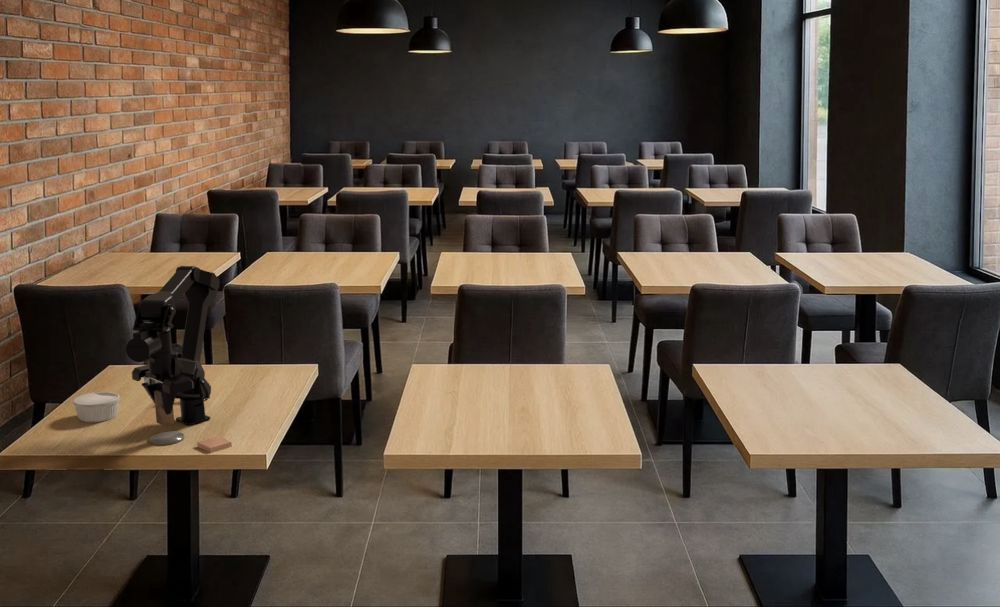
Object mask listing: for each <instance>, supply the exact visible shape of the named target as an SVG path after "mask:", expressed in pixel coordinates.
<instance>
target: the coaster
mask: <svg viewBox="0 0 1000 607" xmlns="http://www.w3.org/2000/svg"><path fill="white" fill-rule="evenodd" d="M184 439H185V433H183V432H181V431H164V432H163V431H162V432H159V433H156V434H154V435H151V436H150V437H149V442H150V444H152V445H154V444H156V446H169V445H174V443H175V444H178V443H180V442H182V441H184Z"/></svg>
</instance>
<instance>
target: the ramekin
mask: <svg viewBox="0 0 1000 607" xmlns="http://www.w3.org/2000/svg"><path fill="white" fill-rule="evenodd" d="M120 400H121V396H120V395H119V394H118V393H116V392H109V391H98V392H97V391H96V392H89V393H85V394H81V395H79V396H77V397H75V398H74V399H73V400H72V402H73V406H74V407H75V412H76V415H77V417H78V419H79V420H80V421H82V422H83V421H84V423H101V422H102V423H103V422H106V421H109V420H112V419H114V418H116V417H117V415H118V414H119V406H120V405H119V404H120Z"/></svg>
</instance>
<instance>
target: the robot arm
mask: <svg viewBox="0 0 1000 607" xmlns="http://www.w3.org/2000/svg"><path fill="white" fill-rule="evenodd" d="M220 284H221V283H220V278H219V277H218V276H217V275H216V274H215V272H213V271H212V272H210V271H207V270H204V269H200V267H197V266H194V265H180V266H177V267H176V268H175V273H174V274H173V275H172V276H171V277H170V278H169V279H168V281H167V282H165V284H164V285H163V286H162V287H161V289H160V290H158V292H154V293H152V294H149V295H148V296H146V297H145V298H143V299H142V300H141V301H140V302H139V305H138V307H137V310H136V314H135V320H134V322H133V326H132V330H133V331H134V332H133V333H132V338H131V339H130V340H129V341H128V342H127V343H126V347H125V352H126V354H127V356H128V357H129V359H130V360H131V361H134V362H136V363H142V362H145V361H147V364H146V365H141V366H136V367H134V368H133V370H132V371H131V378H132V380H133V381H136V382H140V381H141V380H142V378H143V380H144V381H143V382H142V383H141V386H142V387H143V388H144V390H145V391H146V393H147V394H148V396H149V397H150V399H151V401H152V402H153V404H154V405H155V398H154V391H157V394H158V396H159V399H160V401H161V403H162V406H163V408H164V410H165V413H166V414H167V415H168V414H171V412H172V408H173V409H174V403H175V400H176V399H179V404H180V405H179V406H180V416H179V417H176V418H175V420H176V421H178V422H180V423H183V424H185V425H188V426H190V425H196V424H198V423H202V422H205V421H208V420H211V416H210V415H209V416H208V415H206V410H205V409H206V407H205V400H204V399H206V398H209V397H210V398H211V392H212V386H211V384H210V383H209V382H208V381H207V380H206V378H205V373H206V372H205V370H204V368H203V364H202V363H201V356H202V349H203V345H204V344H203V343H204V336H205V330H206V323H207V317H208V311H209V307H210V306H211V304H212V303H213V302H214V301H215V300H216V299H217V294H218V290H219V288H220V286H221V285H220ZM183 296H185V297H186V301H187V303H188V307H187V313H186V320H185V325H184V326H185V327H184V331H183V339H182V340H183V341H182V346H181V352H173V344H172V342H173V341H172V334H171V333H172V331H171V329H173V328H174V324H173V323H172V322H173V319H174V317H175V315H176V313H177V310H176V305H177V303H178V302H179V301H180V300H181V298H183Z"/></svg>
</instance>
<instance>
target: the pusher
mask: <svg viewBox="0 0 1000 607" xmlns="http://www.w3.org/2000/svg"><path fill="white" fill-rule="evenodd" d="M154 398H155V404H154V407H155V418H156V423H157V424H159V425H161V426H166V425H170V424H173V423H175V413H174V407H173V408H172V412H171V414H168V415H167V414H166V413H165V410H164V408H163V406H162V403H161V401H160V399H159V396H158V394H157V391H154Z"/></svg>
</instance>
